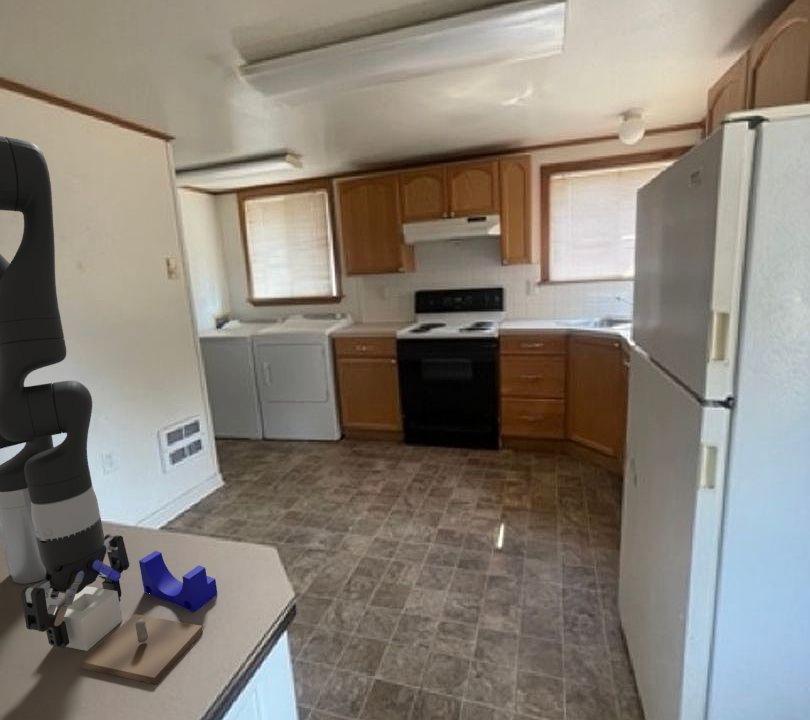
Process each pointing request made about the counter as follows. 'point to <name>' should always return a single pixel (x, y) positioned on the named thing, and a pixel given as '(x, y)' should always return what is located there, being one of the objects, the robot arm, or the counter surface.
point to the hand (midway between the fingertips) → (88, 623)
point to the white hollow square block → (91, 616)
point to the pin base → (143, 648)
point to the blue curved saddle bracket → (176, 583)
